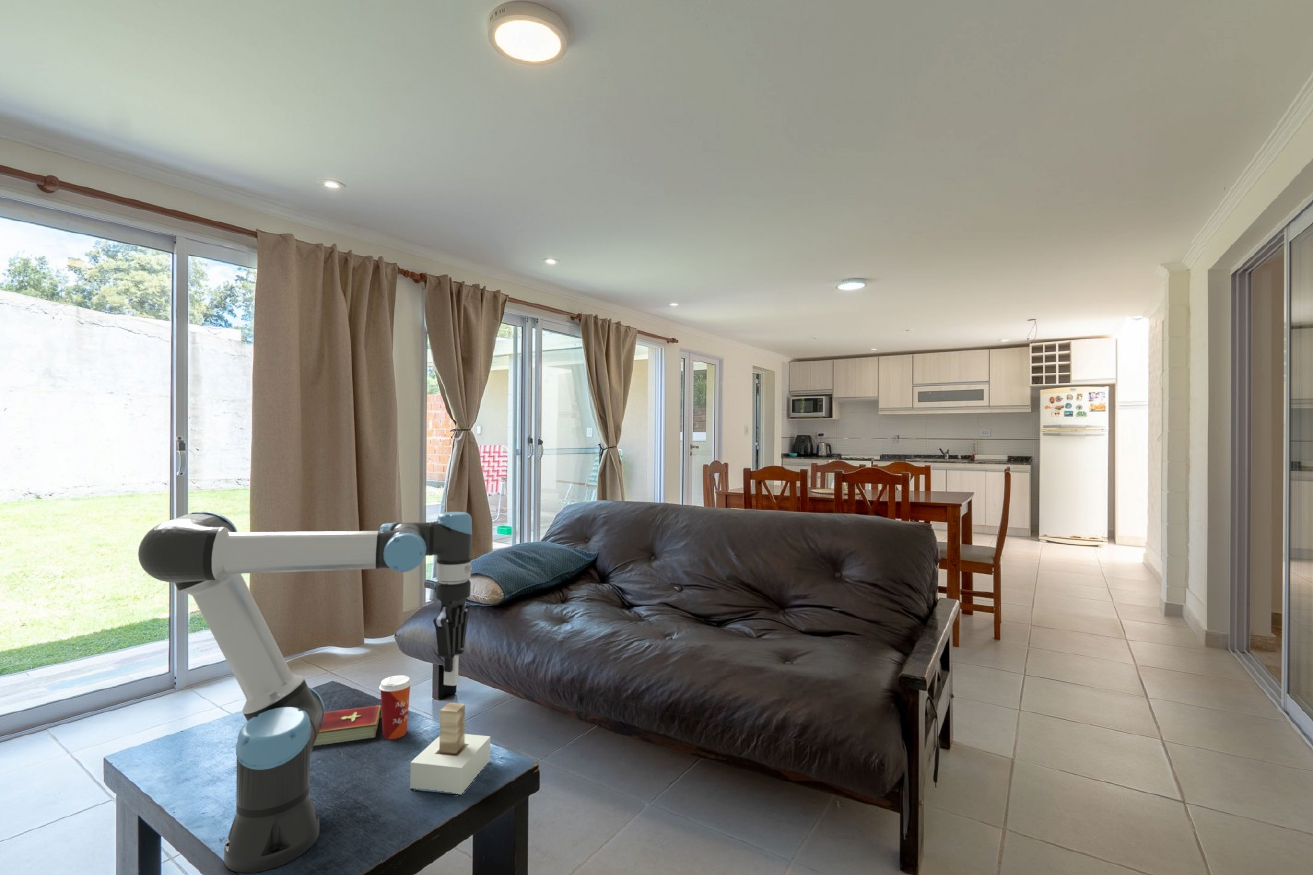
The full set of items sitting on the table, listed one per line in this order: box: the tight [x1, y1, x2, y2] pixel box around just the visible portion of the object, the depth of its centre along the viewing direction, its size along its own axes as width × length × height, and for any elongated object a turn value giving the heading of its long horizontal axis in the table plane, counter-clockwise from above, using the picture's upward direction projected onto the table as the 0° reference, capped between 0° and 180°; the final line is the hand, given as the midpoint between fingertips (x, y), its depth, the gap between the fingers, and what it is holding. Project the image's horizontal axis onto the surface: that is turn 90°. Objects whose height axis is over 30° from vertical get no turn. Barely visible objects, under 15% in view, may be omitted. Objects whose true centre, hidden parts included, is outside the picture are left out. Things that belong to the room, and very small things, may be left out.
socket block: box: [409, 733, 491, 794], centre depth 137 cm, size 14×12×6 cm
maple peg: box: [439, 702, 466, 756], centre depth 137 cm, size 4×4×14 cm
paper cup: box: [378, 674, 412, 740], centre depth 156 cm, size 8×8×14 cm
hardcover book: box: [313, 704, 382, 747], centre depth 157 cm, size 12×21×4 cm, turn 109°
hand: (450, 683), depth 137 cm, fingers closed
